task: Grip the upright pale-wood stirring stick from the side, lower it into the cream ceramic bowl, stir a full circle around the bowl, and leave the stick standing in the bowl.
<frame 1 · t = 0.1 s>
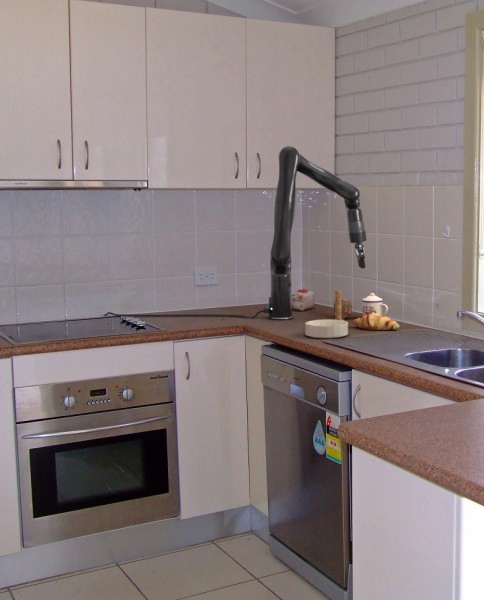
hand: (362, 267, 373), 22 cm above the worktop, tool pointing down, fingers open, 8 cm apart
bowl: (326, 335, 327), on the worktop
tin: (342, 318, 375), on the worktop
croissant: (375, 329, 343), on the worktop
teacup with lid: (375, 320, 368), on the worktop
food item: (302, 309, 401), on the worktop
stirring stick: (338, 329, 342), on the worktop
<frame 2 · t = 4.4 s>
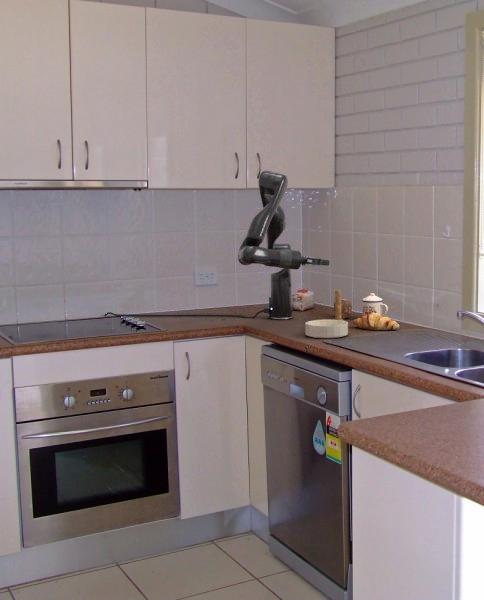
hand: (324, 262, 342), 27 cm above the worktop, tool horizontal, fingers open, 8 cm apart
nothing on the worktop moved.
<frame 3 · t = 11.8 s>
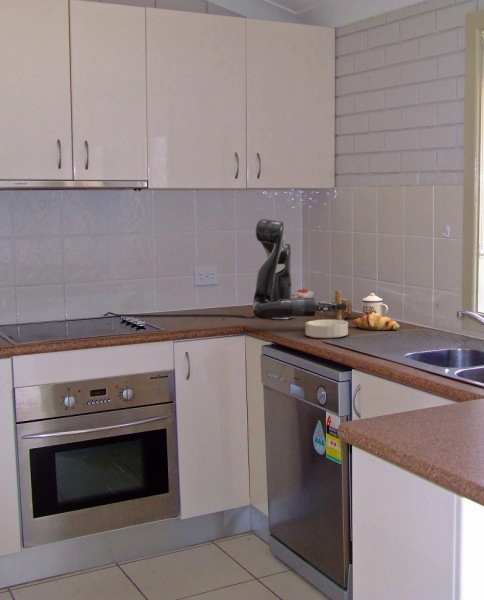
hand: (345, 306, 341), 10 cm above the worktop, tool horizontal, fingers closed on stirring stick, 2 cm apart
stirring stick: (338, 329, 342), on the worktop, touching gripper
everything else where it was.
when the fingers open (10 cm above the worktop, at t = 22.6 s): stirring stick stays where it is, resting on bowl.
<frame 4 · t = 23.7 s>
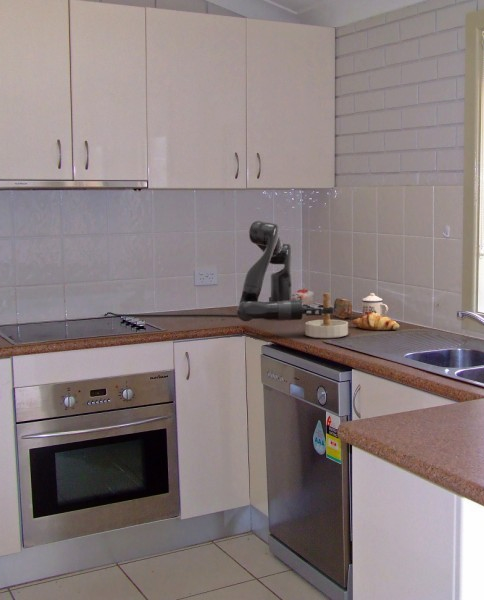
hand: (331, 309, 326), 10 cm above the worktop, tool horizontal, fingers open, 8 cm apart
stirring stick: (326, 334, 327), point 1 cm above the worktop, touching bowl
everything else where it was.
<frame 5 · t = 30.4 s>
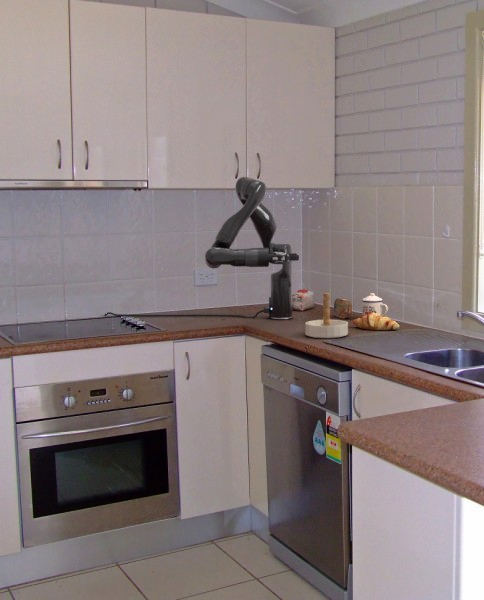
hand: (297, 256, 333), 30 cm above the worktop, tool horizontal, fingers open, 8 cm apart
nothing on the worktop moved.
at the end: stirring stick inside the target area in the bowl (0.1 cm from its centre), point 0.6 cm above the bowl's base; stirring stick moved 15.2 cm from its start; the gripper is holding nothing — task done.
